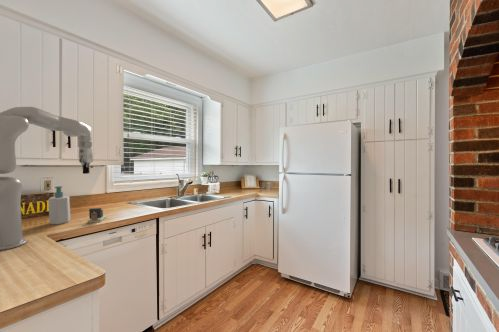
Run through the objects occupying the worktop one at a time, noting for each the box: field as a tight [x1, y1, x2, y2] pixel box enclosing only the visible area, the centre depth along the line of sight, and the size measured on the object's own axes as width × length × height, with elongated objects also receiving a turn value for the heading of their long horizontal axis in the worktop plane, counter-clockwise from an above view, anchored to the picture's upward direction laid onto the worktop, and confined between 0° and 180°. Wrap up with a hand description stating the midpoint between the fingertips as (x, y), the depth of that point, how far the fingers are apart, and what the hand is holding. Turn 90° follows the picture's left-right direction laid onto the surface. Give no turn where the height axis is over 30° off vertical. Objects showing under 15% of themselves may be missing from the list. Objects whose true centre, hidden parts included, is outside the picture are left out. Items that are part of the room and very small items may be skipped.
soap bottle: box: [47, 185, 71, 225], centre depth 145 cm, size 10×9×22 cm
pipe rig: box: [87, 208, 107, 224], centre depth 150 cm, size 7×10×6 cm
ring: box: [88, 207, 102, 220], centre depth 148 cm, size 6×2×6 cm, turn 103°
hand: (86, 173), depth 155 cm, fingers closed
